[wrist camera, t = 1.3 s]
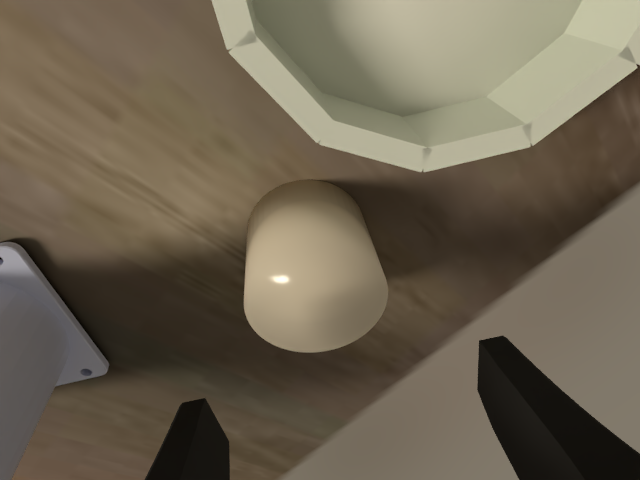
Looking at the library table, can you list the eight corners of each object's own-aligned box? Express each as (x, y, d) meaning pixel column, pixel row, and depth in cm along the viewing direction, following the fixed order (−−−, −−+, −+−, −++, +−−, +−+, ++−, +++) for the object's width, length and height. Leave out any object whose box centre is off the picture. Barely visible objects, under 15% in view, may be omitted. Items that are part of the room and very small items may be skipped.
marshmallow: (265, 288, 20) (266, 365, 17) (231, 195, 17) (223, 263, 14) (370, 263, 20) (395, 335, 16) (353, 166, 17) (378, 226, 14)
